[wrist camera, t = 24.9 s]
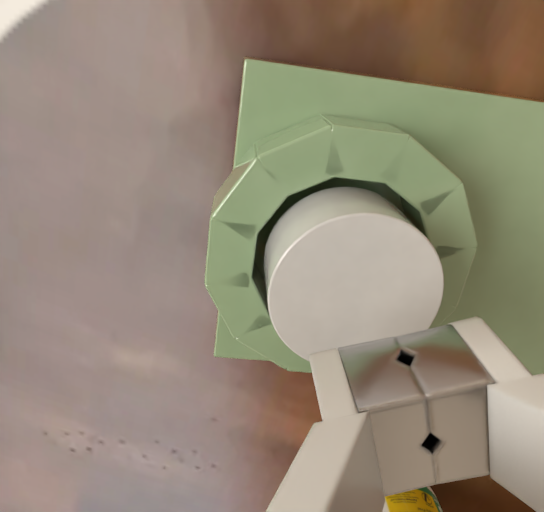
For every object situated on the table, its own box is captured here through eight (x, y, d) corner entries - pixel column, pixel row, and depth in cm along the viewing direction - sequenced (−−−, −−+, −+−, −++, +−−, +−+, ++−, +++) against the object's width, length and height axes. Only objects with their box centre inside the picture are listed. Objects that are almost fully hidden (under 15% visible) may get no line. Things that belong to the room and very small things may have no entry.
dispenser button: (254, 317, 13) (257, 363, 11) (274, 177, 11) (281, 203, 9) (393, 329, 13) (418, 375, 11) (431, 196, 12) (468, 224, 10)
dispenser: (206, 306, 18) (194, 395, 13) (229, 53, 14) (223, 57, 10) (506, 331, 19) (589, 420, 15) (597, 108, 16) (744, 133, 11)
